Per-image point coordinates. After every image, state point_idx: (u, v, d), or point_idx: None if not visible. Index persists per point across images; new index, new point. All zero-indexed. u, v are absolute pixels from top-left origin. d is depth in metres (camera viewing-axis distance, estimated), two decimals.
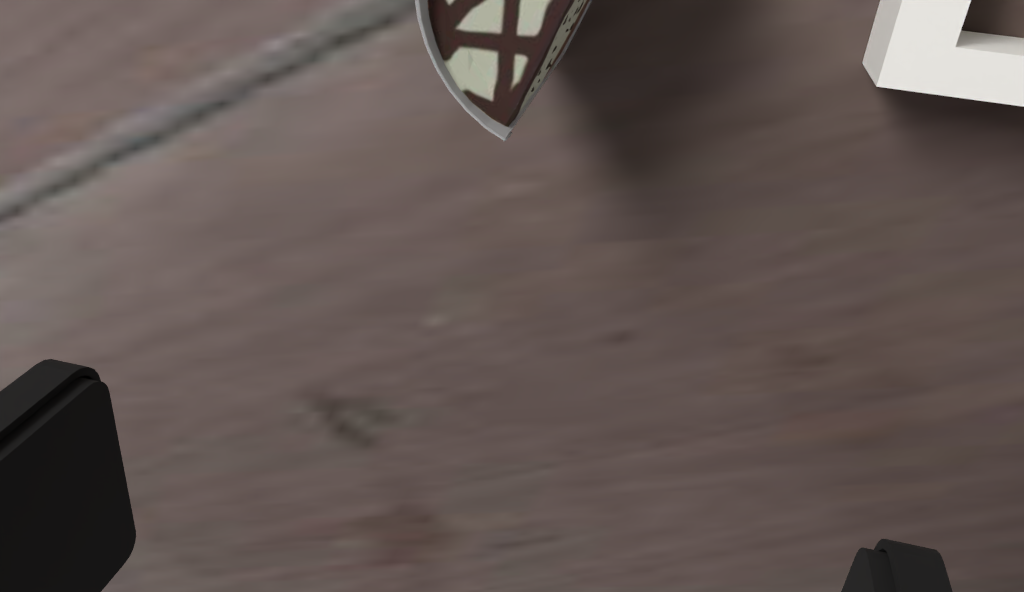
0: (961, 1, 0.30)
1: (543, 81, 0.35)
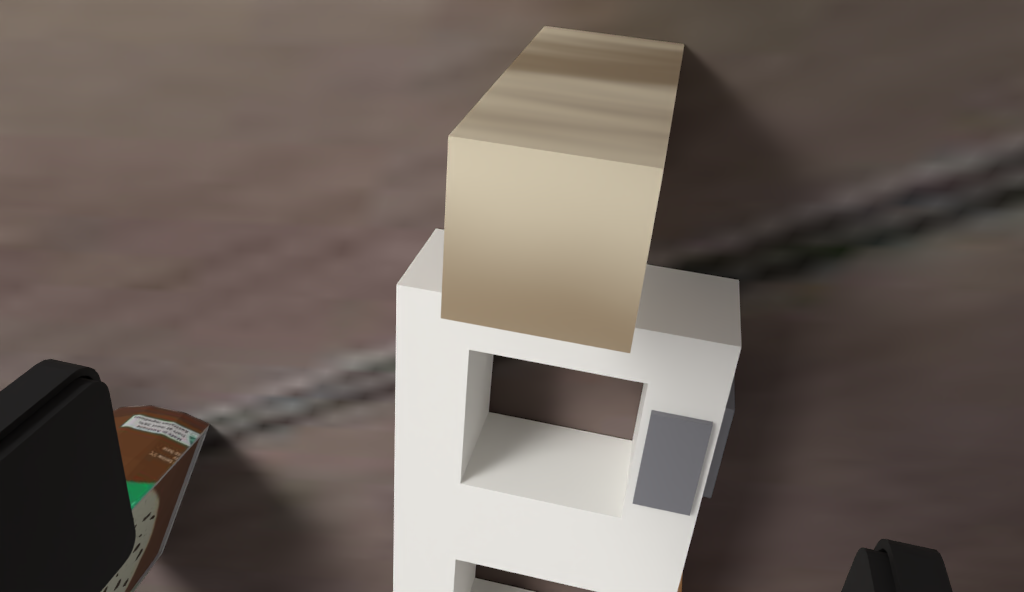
0: None
1: None
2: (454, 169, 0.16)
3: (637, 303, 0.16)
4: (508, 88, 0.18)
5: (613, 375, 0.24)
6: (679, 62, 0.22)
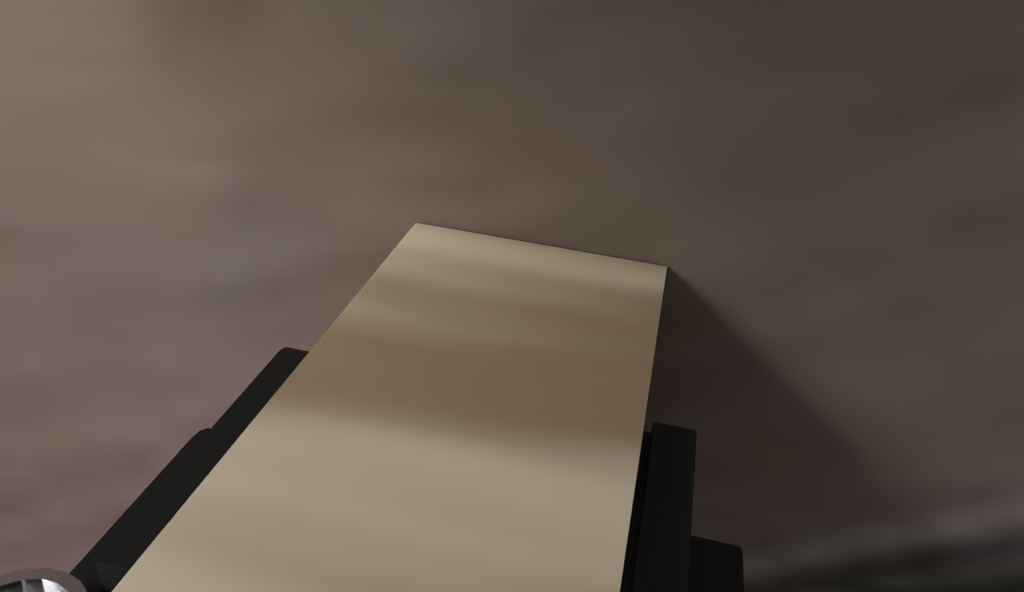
0: None
1: None
2: None
3: None
4: (225, 508, 0.08)
5: None
6: (652, 338, 0.11)
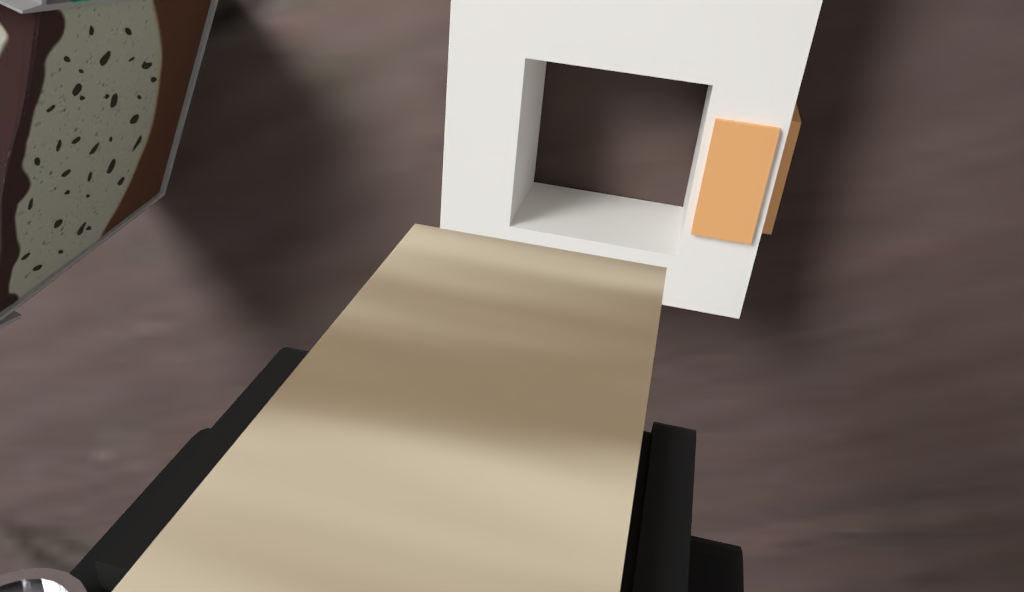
0: (504, 178, 0.26)
1: (100, 239, 0.31)
2: None
3: None
4: (223, 509, 0.08)
5: None
6: (652, 339, 0.11)
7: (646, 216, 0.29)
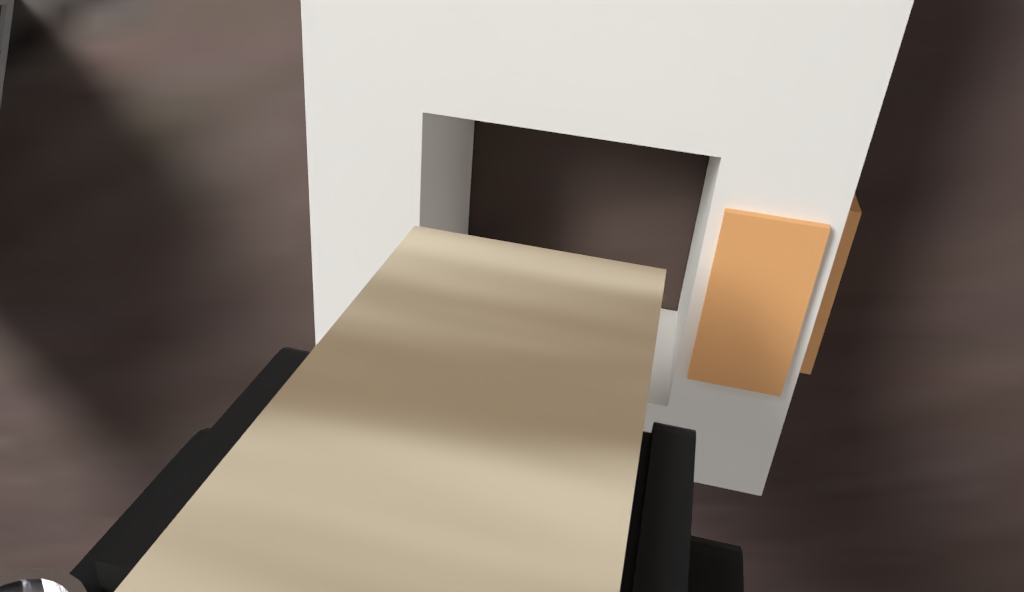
0: None
1: None
2: None
3: None
4: (222, 514, 0.08)
5: None
6: (651, 341, 0.11)
7: None
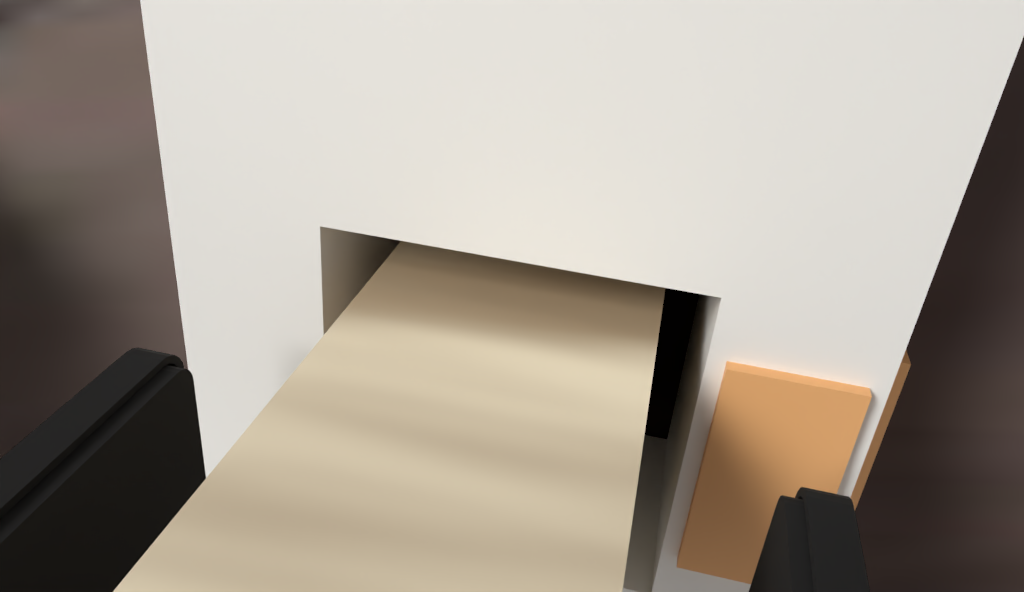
0: None
1: None
2: None
3: None
4: (319, 384, 0.09)
5: None
6: None
7: None
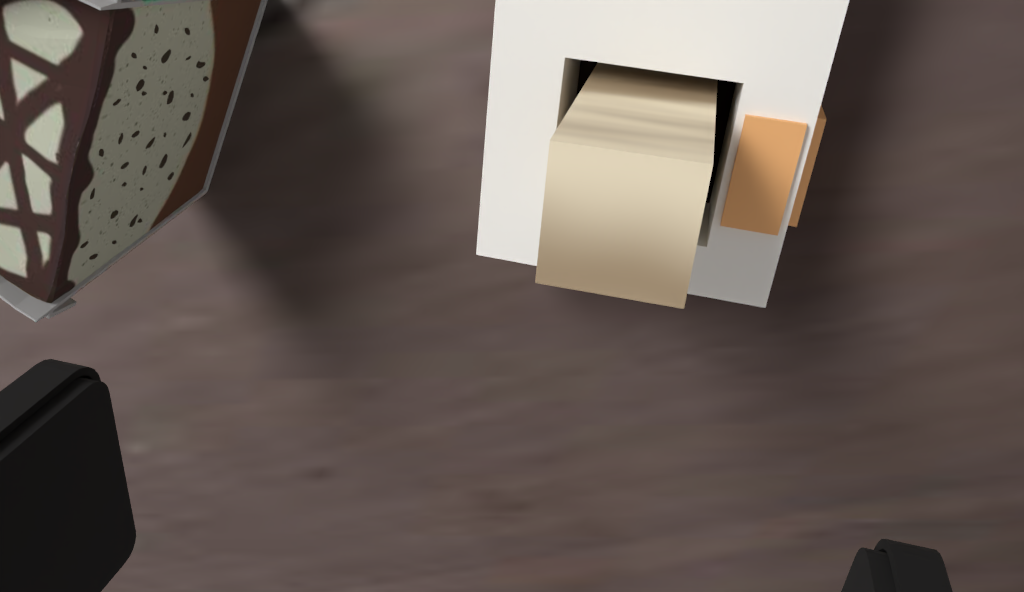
0: (541, 172, 0.28)
1: (149, 232, 0.32)
2: (552, 165, 0.21)
3: (690, 268, 0.21)
4: (585, 105, 0.24)
5: None
6: (715, 85, 0.27)
7: None
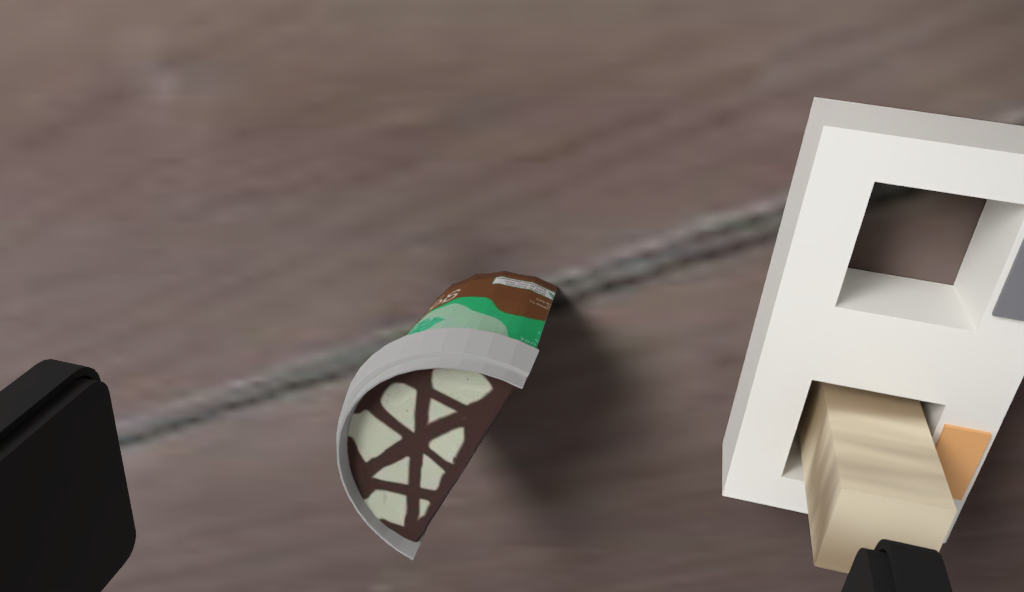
0: (782, 447, 0.37)
1: None
2: (840, 502, 0.31)
3: None
4: (841, 432, 0.34)
5: (1000, 199, 0.30)
6: None
7: None
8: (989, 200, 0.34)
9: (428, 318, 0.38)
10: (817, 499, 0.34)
